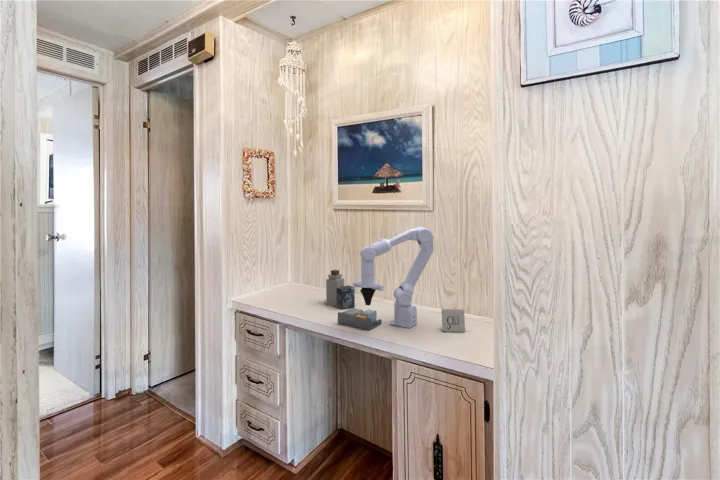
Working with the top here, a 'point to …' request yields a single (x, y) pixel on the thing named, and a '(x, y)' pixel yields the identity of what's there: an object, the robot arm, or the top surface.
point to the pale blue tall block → (370, 314)
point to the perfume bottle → (333, 287)
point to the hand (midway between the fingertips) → (368, 304)
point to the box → (345, 297)
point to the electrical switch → (453, 320)
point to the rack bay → (357, 319)
